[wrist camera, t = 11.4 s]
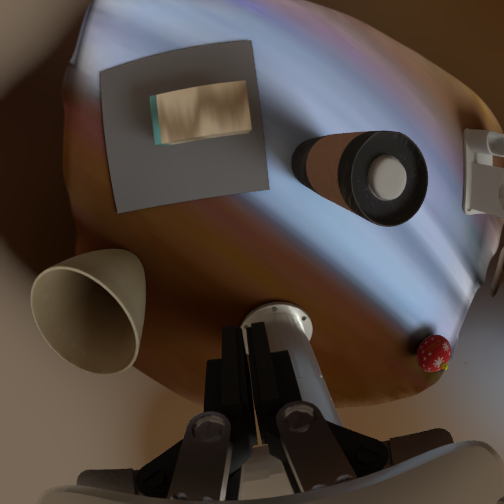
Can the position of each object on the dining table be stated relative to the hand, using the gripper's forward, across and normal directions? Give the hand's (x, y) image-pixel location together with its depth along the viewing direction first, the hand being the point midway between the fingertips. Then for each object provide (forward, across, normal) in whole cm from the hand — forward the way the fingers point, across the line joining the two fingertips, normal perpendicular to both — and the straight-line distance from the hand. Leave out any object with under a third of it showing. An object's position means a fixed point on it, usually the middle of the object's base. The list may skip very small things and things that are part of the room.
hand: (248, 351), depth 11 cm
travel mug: (+29, -12, -5) cm, 32 cm away
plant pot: (+29, +19, +7) cm, 36 cm away
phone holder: (+29, -48, -4) cm, 57 cm away
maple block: (+26, +8, -13) cm, 30 cm away
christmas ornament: (+29, -39, +35) cm, 60 cm away
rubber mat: (+29, +6, -13) cm, 32 cm away
